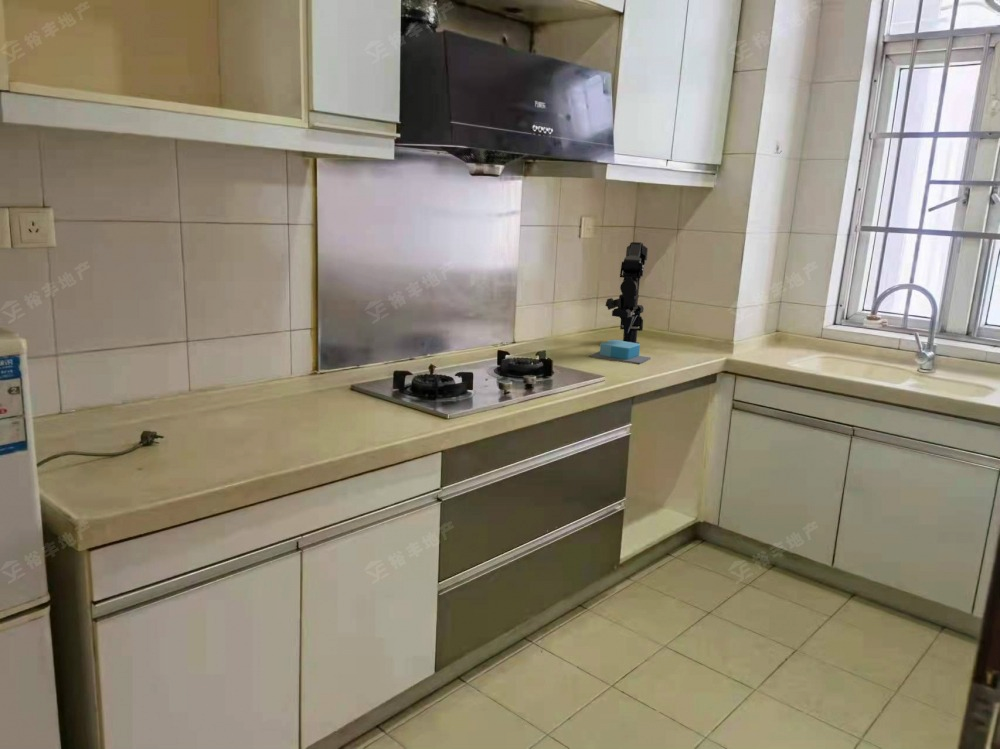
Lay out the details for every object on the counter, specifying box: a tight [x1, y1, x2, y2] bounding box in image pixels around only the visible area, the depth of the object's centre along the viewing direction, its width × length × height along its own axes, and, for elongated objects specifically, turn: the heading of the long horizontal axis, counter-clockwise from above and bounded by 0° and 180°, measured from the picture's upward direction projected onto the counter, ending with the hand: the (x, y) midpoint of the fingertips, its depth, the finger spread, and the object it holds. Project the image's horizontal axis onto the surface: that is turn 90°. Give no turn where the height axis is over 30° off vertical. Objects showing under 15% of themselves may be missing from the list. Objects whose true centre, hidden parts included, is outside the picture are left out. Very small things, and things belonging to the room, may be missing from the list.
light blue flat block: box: [599, 339, 641, 359], centre depth 287 cm, size 12×4×12 cm
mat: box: [589, 350, 651, 365], centre depth 285 cm, size 12×20×1 cm, turn 60°
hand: (626, 333), depth 287 cm, fingers closed
